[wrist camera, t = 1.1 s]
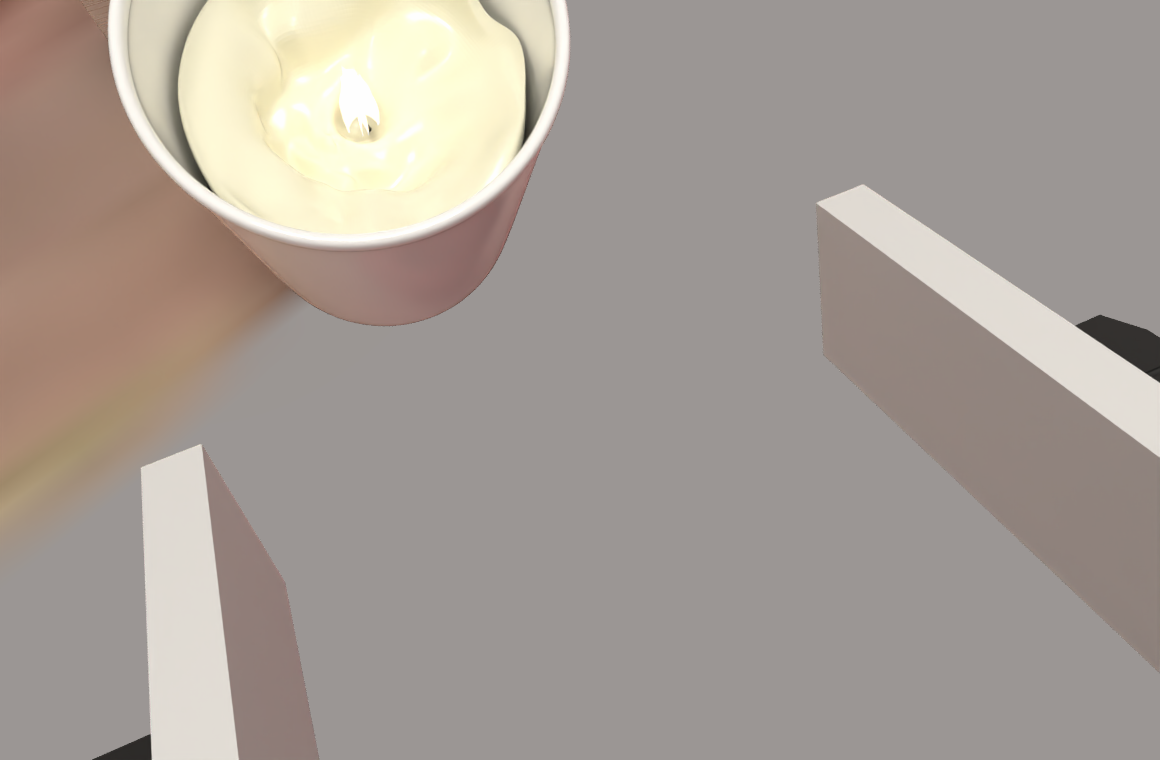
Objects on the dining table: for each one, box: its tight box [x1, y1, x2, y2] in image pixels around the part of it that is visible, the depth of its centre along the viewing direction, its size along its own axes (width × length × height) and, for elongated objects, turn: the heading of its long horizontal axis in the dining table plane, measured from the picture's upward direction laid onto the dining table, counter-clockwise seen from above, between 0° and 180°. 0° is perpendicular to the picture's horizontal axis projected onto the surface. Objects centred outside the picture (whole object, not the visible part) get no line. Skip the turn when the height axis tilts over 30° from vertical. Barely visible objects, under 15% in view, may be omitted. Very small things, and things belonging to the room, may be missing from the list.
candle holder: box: [108, 0, 570, 326], centre depth 27 cm, size 10×10×12 cm
